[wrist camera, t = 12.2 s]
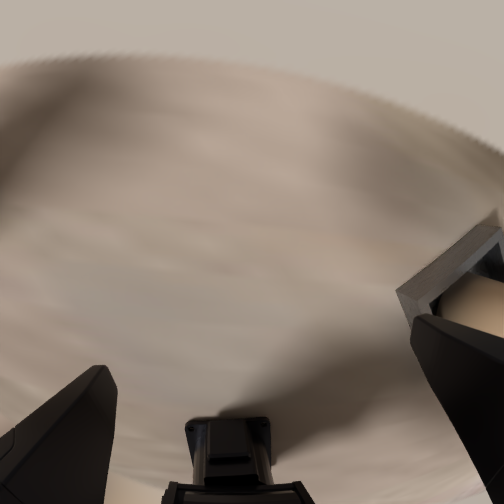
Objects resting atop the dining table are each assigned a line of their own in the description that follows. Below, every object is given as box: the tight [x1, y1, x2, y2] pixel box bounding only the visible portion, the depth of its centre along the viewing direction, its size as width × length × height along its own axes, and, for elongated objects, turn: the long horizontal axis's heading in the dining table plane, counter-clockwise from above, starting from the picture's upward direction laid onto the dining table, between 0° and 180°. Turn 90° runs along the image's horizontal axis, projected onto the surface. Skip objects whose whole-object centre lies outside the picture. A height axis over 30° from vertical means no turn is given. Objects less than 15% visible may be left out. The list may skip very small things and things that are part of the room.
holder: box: [396, 225, 504, 330], centre depth 22 cm, size 10×10×3 cm
